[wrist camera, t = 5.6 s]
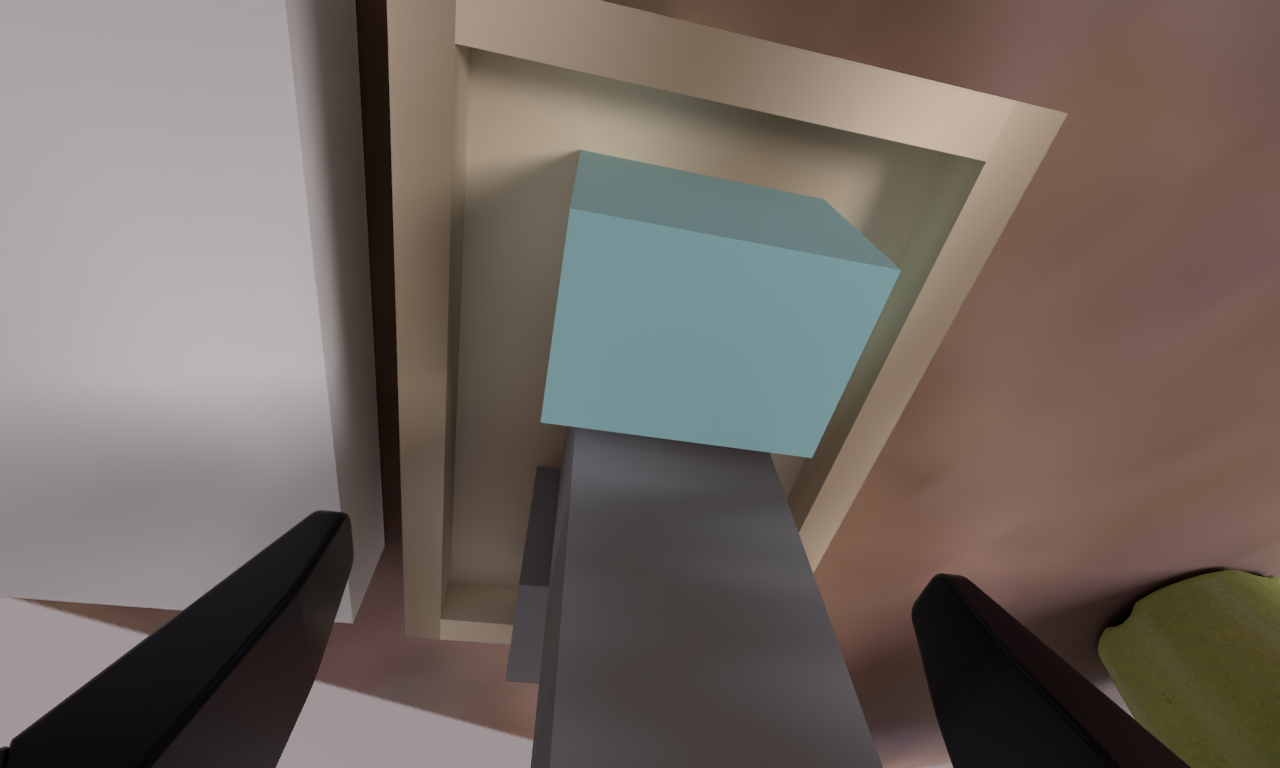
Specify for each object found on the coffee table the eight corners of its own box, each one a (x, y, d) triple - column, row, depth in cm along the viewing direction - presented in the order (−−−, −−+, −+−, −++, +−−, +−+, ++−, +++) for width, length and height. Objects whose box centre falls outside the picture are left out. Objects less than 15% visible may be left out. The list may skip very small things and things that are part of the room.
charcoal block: (716, 488, 13) (742, 603, 10) (684, 574, 15) (700, 693, 12) (536, 466, 12) (518, 584, 10) (523, 559, 14) (505, 681, 11)
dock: (348, -126, 9) (266, -166, 7) (384, 545, 17) (352, 623, 15) (-600, -370, 7) (-1103, -524, 5) (-57, 503, 15) (-163, 584, 13)
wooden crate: (944, 83, 11) (2044, 352, 3) (738, 556, 18) (850, 1033, 10) (453, -36, 10) (-603, -285, 1) (440, 525, 17) (273, 1048, 8)
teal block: (824, 198, 9) (900, 270, 7) (765, 354, 11) (812, 458, 9) (580, 149, 9) (570, 208, 6) (556, 322, 10) (540, 422, 8)
